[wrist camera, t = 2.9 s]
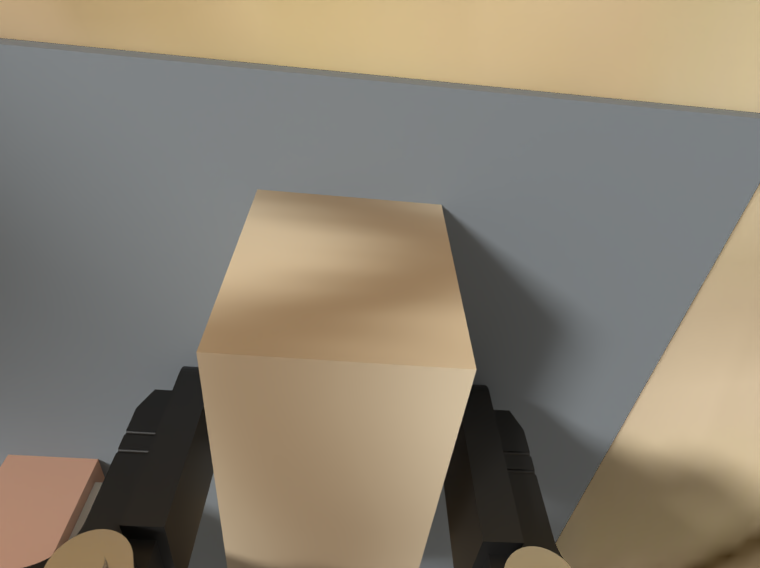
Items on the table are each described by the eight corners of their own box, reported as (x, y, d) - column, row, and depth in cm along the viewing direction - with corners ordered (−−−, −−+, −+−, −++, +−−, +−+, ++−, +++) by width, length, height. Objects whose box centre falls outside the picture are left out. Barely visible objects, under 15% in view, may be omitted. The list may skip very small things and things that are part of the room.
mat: (783, 115, 9) (794, 122, 9) (507, 615, 20) (509, 623, 20) (-731, -35, 7) (-768, -32, 7) (-114, 595, 19) (-121, 605, 18)
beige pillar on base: (491, 208, 10) (551, 374, 6) (396, 588, 18) (401, 740, 15) (204, 184, 9) (114, 346, 6) (245, 583, 18) (218, 737, 15)
